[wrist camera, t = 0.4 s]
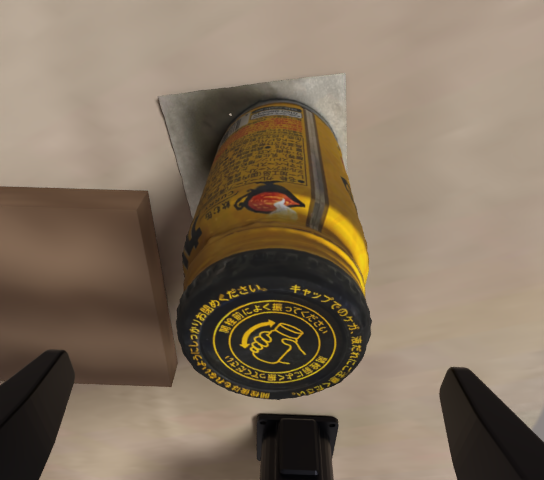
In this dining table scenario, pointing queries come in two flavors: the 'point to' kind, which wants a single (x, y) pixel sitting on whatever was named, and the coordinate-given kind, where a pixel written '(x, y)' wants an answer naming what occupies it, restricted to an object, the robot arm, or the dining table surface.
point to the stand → (84, 285)
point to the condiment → (270, 237)
